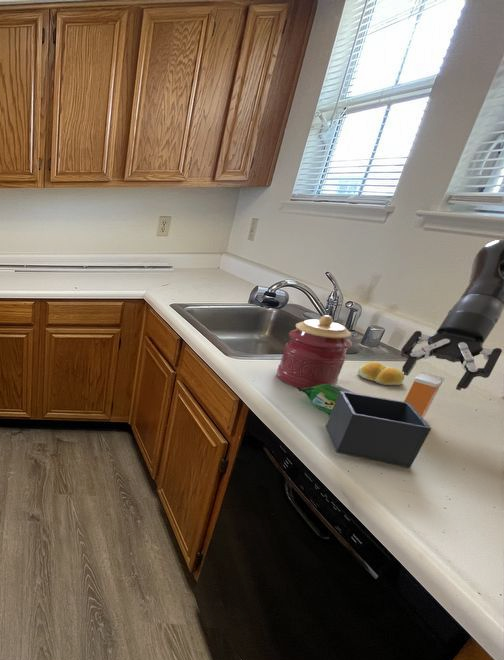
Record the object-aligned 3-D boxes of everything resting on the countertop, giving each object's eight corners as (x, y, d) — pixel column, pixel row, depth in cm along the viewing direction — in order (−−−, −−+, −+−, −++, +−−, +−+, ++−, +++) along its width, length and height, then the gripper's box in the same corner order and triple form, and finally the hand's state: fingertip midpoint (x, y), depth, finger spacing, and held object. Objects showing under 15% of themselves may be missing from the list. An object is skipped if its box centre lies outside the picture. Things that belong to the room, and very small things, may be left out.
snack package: (314, 394, 102) (321, 375, 99) (386, 427, 88) (396, 406, 86) (293, 399, 99) (300, 380, 97) (364, 434, 86) (374, 412, 84)
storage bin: (391, 439, 84) (409, 402, 81) (410, 468, 76) (431, 428, 72) (325, 426, 89) (339, 390, 85) (336, 452, 80) (353, 414, 77)
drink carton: (423, 418, 92) (444, 378, 87) (416, 425, 89) (438, 384, 85) (402, 411, 94) (422, 372, 90) (395, 418, 92) (415, 377, 87)
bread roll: (394, 389, 104) (401, 375, 102) (352, 376, 111) (358, 362, 109) (407, 381, 108) (414, 367, 106) (366, 369, 115) (372, 356, 113)
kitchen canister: (298, 367, 116) (319, 305, 108) (347, 387, 105) (374, 320, 97) (264, 374, 112) (283, 310, 104) (311, 395, 101) (337, 326, 93)
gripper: (513, 339, 88) (473, 401, 87) (425, 321, 98) (388, 376, 98) (523, 319, 83) (481, 385, 82) (428, 303, 93) (390, 361, 92)
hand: (431, 380), depth 90 cm, fingers open, 8 cm apart
